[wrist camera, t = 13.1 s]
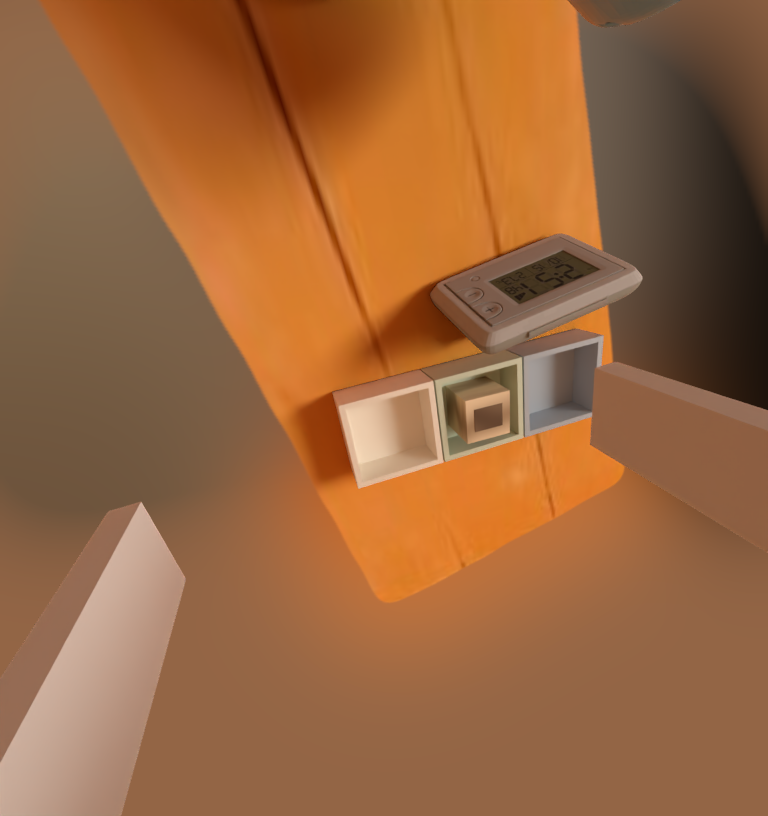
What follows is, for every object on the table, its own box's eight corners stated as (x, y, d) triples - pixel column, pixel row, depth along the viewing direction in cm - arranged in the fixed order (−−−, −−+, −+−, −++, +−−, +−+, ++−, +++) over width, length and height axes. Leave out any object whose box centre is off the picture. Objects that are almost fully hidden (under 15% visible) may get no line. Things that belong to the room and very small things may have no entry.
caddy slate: (502, 347, 43) (523, 356, 39) (576, 328, 45) (603, 335, 41) (505, 422, 47) (525, 437, 43) (572, 402, 49) (597, 414, 45)
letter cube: (445, 385, 42) (465, 401, 38) (485, 376, 43) (510, 390, 39) (448, 425, 44) (468, 444, 40) (486, 415, 45) (510, 433, 41)
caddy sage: (420, 368, 41) (435, 380, 38) (500, 348, 43) (522, 357, 39) (431, 444, 45) (445, 461, 42) (503, 423, 47) (523, 437, 43)
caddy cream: (332, 391, 40) (338, 406, 36) (418, 369, 41) (433, 380, 38) (351, 468, 44) (358, 488, 40) (429, 445, 45) (443, 462, 42)
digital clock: (565, 231, 40) (656, 225, 30) (560, 316, 44) (640, 334, 34) (423, 255, 37) (474, 255, 27) (430, 343, 41) (478, 371, 31)
